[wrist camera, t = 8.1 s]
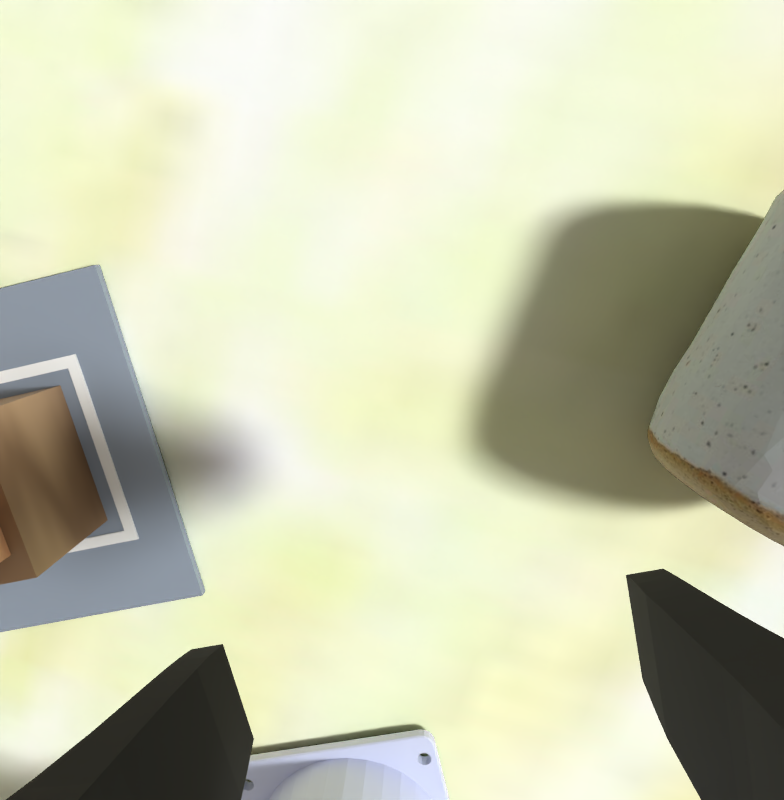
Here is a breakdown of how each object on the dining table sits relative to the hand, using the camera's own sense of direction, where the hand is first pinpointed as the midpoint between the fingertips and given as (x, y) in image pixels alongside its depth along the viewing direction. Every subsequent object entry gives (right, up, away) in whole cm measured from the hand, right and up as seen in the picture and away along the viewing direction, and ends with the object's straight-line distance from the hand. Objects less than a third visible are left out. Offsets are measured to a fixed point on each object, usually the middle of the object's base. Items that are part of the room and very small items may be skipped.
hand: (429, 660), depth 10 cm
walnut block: (-14, +2, +11) cm, 18 cm away
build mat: (-14, +2, +11) cm, 18 cm away
